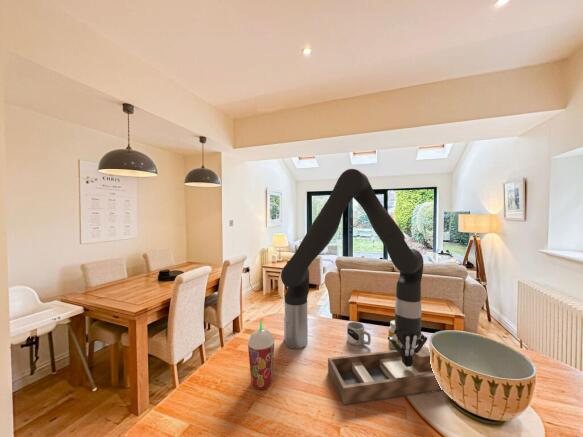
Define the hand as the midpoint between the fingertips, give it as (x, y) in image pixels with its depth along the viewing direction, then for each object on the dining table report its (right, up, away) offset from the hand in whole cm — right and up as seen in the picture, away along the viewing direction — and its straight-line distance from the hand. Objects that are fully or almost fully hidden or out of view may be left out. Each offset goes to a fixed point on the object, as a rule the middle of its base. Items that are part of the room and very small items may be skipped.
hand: (406, 365), depth 79 cm
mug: (-10, -4, +21) cm, 23 cm away
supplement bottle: (+4, -4, +18) cm, 19 cm away
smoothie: (-46, -5, -1) cm, 47 cm away
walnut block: (+5, -1, +1) cm, 5 cm away
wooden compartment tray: (-6, -4, -1) cm, 7 cm away
